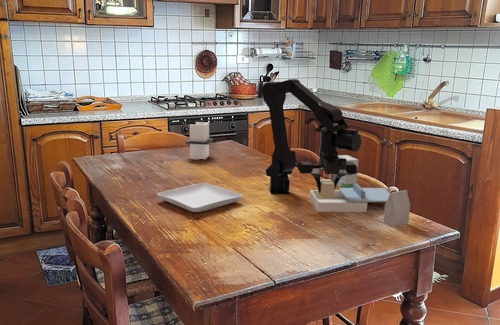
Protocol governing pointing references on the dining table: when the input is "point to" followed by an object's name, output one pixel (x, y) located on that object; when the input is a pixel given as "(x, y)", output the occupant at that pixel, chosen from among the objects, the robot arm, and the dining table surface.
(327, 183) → the block
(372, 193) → the lid
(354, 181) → the ink box
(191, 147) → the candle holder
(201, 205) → the salad plate
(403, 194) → the grey tapered upright block
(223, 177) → the dining table surface
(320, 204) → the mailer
